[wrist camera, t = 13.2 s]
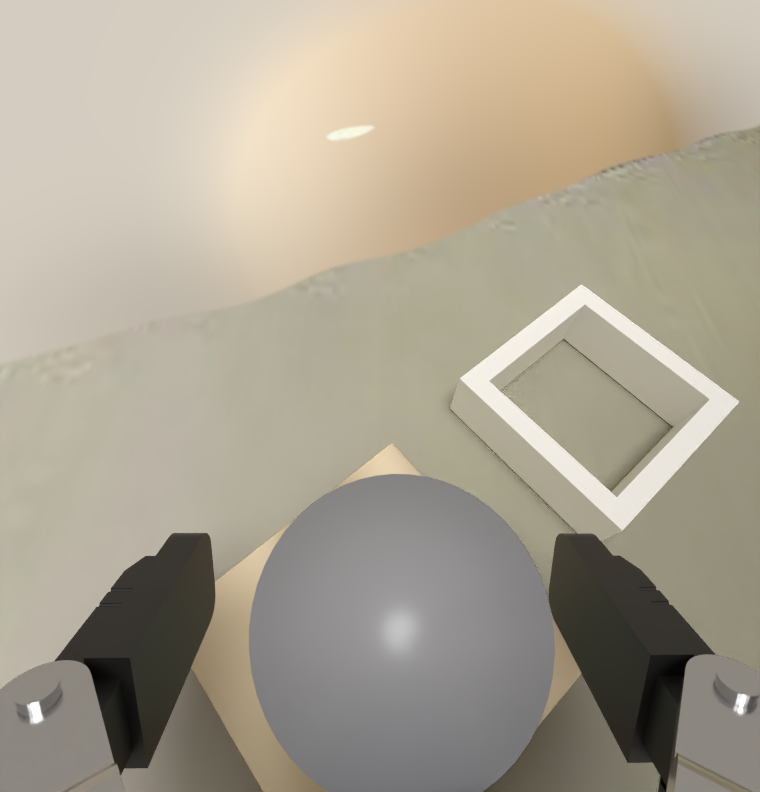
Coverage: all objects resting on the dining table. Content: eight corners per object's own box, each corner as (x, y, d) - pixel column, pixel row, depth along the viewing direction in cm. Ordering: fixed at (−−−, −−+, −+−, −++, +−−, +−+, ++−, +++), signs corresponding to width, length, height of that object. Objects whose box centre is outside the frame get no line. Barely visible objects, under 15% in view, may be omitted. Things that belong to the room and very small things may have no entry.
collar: (561, 319, 23) (581, 284, 21) (699, 429, 20) (739, 401, 18) (449, 408, 21) (459, 378, 18) (591, 546, 18) (622, 530, 16)
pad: (390, 449, 20) (391, 443, 19) (585, 660, 16) (592, 660, 16) (170, 623, 16) (164, 621, 16) (355, 937, 13) (354, 948, 12)
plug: (386, 546, 17) (411, 425, 8) (474, 651, 16) (617, 636, 7) (285, 635, 16) (189, 599, 7) (371, 761, 14) (387, 919, 5)
